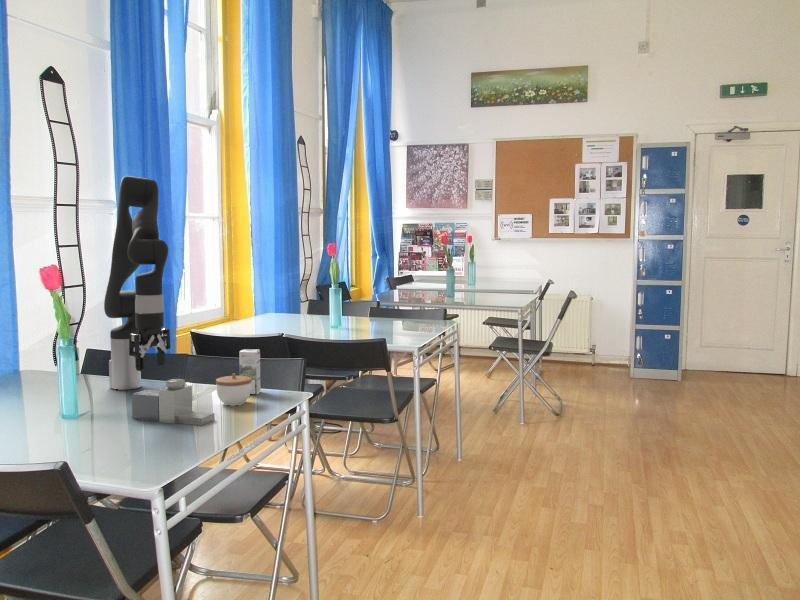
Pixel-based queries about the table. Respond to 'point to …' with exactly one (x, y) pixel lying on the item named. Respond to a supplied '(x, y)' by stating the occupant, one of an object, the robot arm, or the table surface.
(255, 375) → the syrup box
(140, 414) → the coupler lock
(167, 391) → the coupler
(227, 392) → the lidded jar
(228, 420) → the table surface
